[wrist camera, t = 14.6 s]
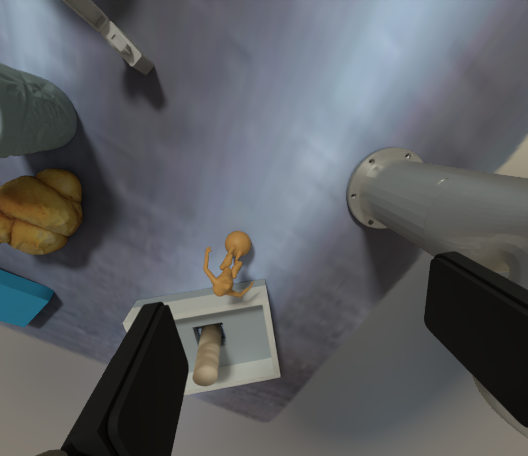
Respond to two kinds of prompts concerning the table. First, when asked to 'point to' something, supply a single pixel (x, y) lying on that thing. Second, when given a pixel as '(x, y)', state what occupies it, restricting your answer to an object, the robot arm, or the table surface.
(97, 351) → the table surface
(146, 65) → the lighter
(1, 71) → the green cup
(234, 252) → the figurine
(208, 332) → the peg
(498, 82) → the table surface
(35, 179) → the bread roll
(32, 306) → the lever
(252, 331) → the tray
